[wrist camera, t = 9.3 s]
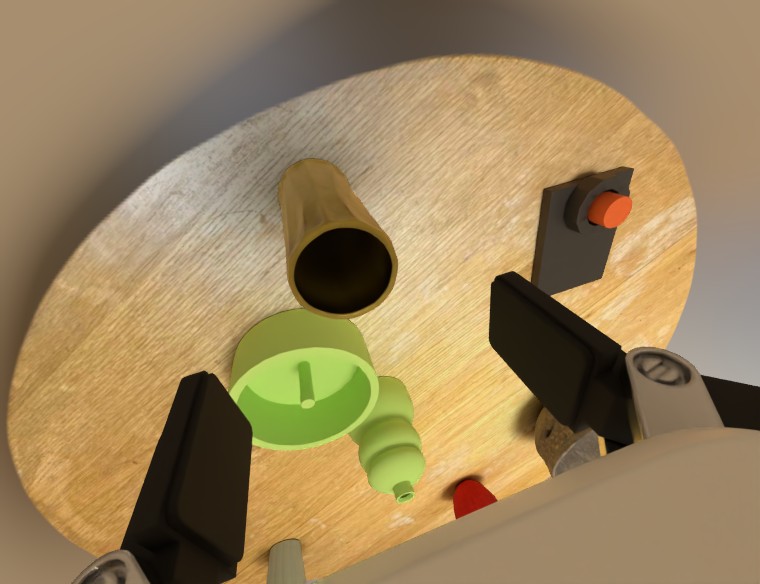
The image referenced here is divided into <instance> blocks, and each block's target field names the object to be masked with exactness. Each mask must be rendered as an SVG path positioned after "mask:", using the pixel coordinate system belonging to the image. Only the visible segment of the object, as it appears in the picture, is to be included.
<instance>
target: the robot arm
mask: <svg viewBox="0 0 760 584" xmlns="http://www.w3.org/2000/svg"><path fill="white" fill-rule="evenodd" d="M489 342H490V344H491V346H492V348H493V349H494V350H495V351H496V352H497V353H498V354H499V356H500V357H501V358H502V359H503V360H504V361H505V362H506V363H507V365H508V366H509V367H510V368H511V369H512V370H513V371H514V372H515V374H516V375H517V376H518V377H519V378H520V379H521V380H522V381H523V383H524V384H525V385H526V386H527V387H528V388H529V389H530V390H531V392H532V393H533V394H534V395H535V396H536V397H537V398H538V399H539V401H540V402H541V403H542V404H543V405H544V406H545V407H546V408H547V410H548V411H549V412H550V413H551V414H552V415H553V416H554V417H555V419H556V420H557V421H558V422H559V423H560V424H562V425H563V426H568V427H569V428H570V429H571V430H572V432H573V433H574V434H577V433H579V432H581V431H584V430H586V429H588V428H591V429H592V430H593V431H594V432H595V433H596V434H597V435H598V441H599V449H600V456H601V457H600V458H597V459H595V460H592V461H590V462H587V463H585V464H582V465H580V466H578V467H576V468H573V469H571V470H569V471H566V472H564V473H562V474H559V475H557V476H555V477H552V478H550V479H548V480H546V481H543V482H541V483H539V484H536V485H534V486H532V487H529V488H527V489H525V490H522V491H520V492H518V493H516V494H513V495H511V496H509V497H506V498H504V499H502V500H499V501H497V502H495V503H493V504H490V505H488V506H486V507H483V508H481V509H479V510H477V511H474V512H472V513H470V514H467V515H465V516H463V517H461V518H458V519H456V520H454V521H452V522H449V523H447V524H445V525H442V526H440V527H438V528H436V529H433V530H431V531H429V532H427V533H424V534H422V535H420V536H417V537H415V538H413V539H411V540H408V541H406V542H404V543H402V544H399V545H397V546H395V547H392V548H390V549H388V550H386V551H383V552H381V553H379V554H377V555H374V556H372V557H370V558H368V559H365V560H363V561H361V562H359V563H356V564H354V565H352V566H350V567H348V568H345V569H343V570H341V571H339V572H336V573H334V574H332V575H330V576H327V577H325V578H323V579H321V580H318V581H316V582H314V583H312V584H760V387H758V386H752V385H748V384H743V383H738V382H733V381H728V380H723V379H718V378H714V377H709V376H703V375H700V374H699V372H698V371H697V369H696V368H695V366H693V365H692V364H691V363H690V362H689V361H687V360H686V359H684V358H683V357H681V356H679V355H677V354H675V353H672V352H670V351H667V350H664V349H660V348H655V347H639V348H634V349H632V350H630V351H629V352H628V353H625V352H624V351H622V350H621V347H622V346H620V345H619V344H618V343H616V342H615V341H613V340H612V339H610V338H609V337H608V336H606V335H605V334H603V333H602V332H600V331H599V330H598V329H596V328H595V327H593V326H592V325H590V324H589V323H588V322H586V321H585V320H583V319H582V318H580V317H579V316H578V315H576V314H575V313H573V312H572V311H570V310H569V309H568V308H566V307H565V306H563V305H562V304H560V303H559V302H558V301H556V300H555V299H553V298H552V297H550V296H549V295H547V294H546V293H545V292H543V291H542V290H540V289H539V288H537V287H536V286H535V285H533V284H532V283H530V282H529V281H527V280H526V279H525V278H523V277H522V276H520V275H519V274H517V273H516V272H514V271H511V272H508V273H504V274H501V275H498V276H496V277H495V280H494V281H493V282H492V283H491V297H490V322H489ZM252 438H253V431H252V426H251V424H250V422H249V421H248V419H247V418H246V417H245V415H244V414H243V412H242V411H241V410H240V408H239V407H238V406H237V404H236V403H235V401H234V400H233V399H232V397H231V396H230V395H229V393H228V392H227V390H226V389H225V388H224V386H223V385H222V383H221V382H220V381H219V379H218V378H217V377H216V375H215V374H213V373H211V374H208V373H207V372H206V371H202V372H198V373H195V374H192V375H189V376H186V377H184V378H182V380H181V382H180V384H179V387H178V390H177V393H176V396H175V398H174V401H173V404H172V407H171V410H170V413H169V415H168V418H167V421H166V424H165V427H164V430H163V432H162V435H161V437H160V439H159V441H158V444H157V446H156V449H155V452H154V455H153V458H152V460H151V463H150V466H149V469H148V472H147V475H146V477H145V480H144V483H143V486H142V489H141V491H140V494H139V497H138V500H137V503H136V505H135V508H134V511H133V514H132V517H131V519H130V522H129V525H128V528H127V531H126V534H125V536H124V539H123V542H122V545H121V548H120V550H115V551H112V552H109V553H107V554H105V555H103V556H102V557H100V558H98V559H97V560H95V561H94V562H93V563H91V564H90V565H89V566H88V567H87V568H86V569H84V570H83V571H82V572H81V573H80V575H79V576H78V577H77V578H76V579H75V580H74V581H73V582H72V583H71V584H221V583H223V582H226V581H228V580H230V579H233V578H235V577H236V571H237V562H240V561H241V559H242V557H243V553H244V543H245V530H246V517H247V503H248V490H249V477H250V464H251V451H252Z"/></svg>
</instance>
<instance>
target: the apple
mask: <svg viewBox="0 0 760 584" xmlns="http://www.w3.org/2000/svg"><path fill="white" fill-rule="evenodd" d="M495 502H497V499H496V498H495V496H494V495H493V494H492V493H491V492H490V491H489V490H487V489H486V488H485V487H484V486H483V485H482V484H481V483H480V482H477V481H474V480H471V479H467V480H464V481H462V482H461V483H460V484H459V485H458V486H457V488H456V491H455V493H454V496H453V504H454V513H455V517H456V519H458V518H461V517H463V516H465V515H467V514H470V513H472V512H474V511H477V510H479V509H481V508H483V507H486V506H488V505H490V504H493V503H495Z"/></svg>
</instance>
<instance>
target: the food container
mask: <svg viewBox="0 0 760 584" xmlns="http://www.w3.org/2000/svg"><path fill="white" fill-rule="evenodd" d="M228 393H229V395H230V396H231V397H232V399H233V400H234V401H235V403H236V404H237V406H238V407H239V408H240V410H241V411H242V412H243V414H244V415H245V417H246V418H247V419H248V421H249V422H250V424H251V426H252V431H253V438H252V444H253V445H256V446H259V447H262V448H266V449H272V450H287V451H290V450H302V449H307V448H312V447H317V446H320V445H323V444H326V443H329V442H332V441H334V440H336V439H338V438H340V437H342V436H344V435H346V434H347V433H348V434H349V436H350V437H351V438H352V440H353V441H354V442H355V443H357V444H358V445H359V452H358V454H359V460H360V463H361V466H362V467H363V469H364V470H365V472H366V473H367V477H368V482H369V484H370V486H371V487H372V488H373V489H375V490H376V491H378V492H381V493H385V494H395V498H396V502H397V503H405V502H408V501H410V500H411V499H412V498H413V497H414V496H415V493H414V490H413V487H412V486H413V485H414V484H415V483H417V481H418V480H419V479H420V477H421V476H422V474H423V473H424V469H425V459H424V456H423V454H422V452H421V440H420V437H419V434H418V433H417V431H416V430H415V429H414V427H412V422H413V404H412V401H411V398H410V396H409V394H408V391H407V389H406V387H405V385H404V384H403V382H401V381H400V380H398V379H396V378H393V377H377V375H376V372H375V369H374V366H373V364H372V361H371V358H370V355H369V352H368V350H367V347H366V344H365V341H364V339H363V337H362V334H361V332H360V331H359V330H358V328H357V327H356V326H355V325H354V324H353V323H352V322H350V321H349V320H348V319H330V318H326V317H323V316H319V315H316V314H314V313H312V312H310V311H308V310H307V309H293V310H289V311H285V312H280V313H278V314H275V315H273V316H271V317H268V318H266V319H264V320H263V321H261V322H260V323H258V324H256V325H255V326H254V327H253V328H252V329H251V330H250V331H248V332H247V333H246V334H245V336H244V337H243V338H242V340H241V341H240V343H239V344H238V347H237V349H236V352H235V355H234V361H233V367H232V372H231V378H230V384H229V389H228Z"/></svg>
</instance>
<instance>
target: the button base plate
mask: <svg viewBox="0 0 760 584" xmlns="http://www.w3.org/2000/svg"><path fill="white" fill-rule="evenodd" d="M633 171H634V168H629V167H621V168H618V169H614V170H610V171H607V172H603V173H599V174H596V175H592V176H589V177H586V178H582V179H579V180H575V181H571V182H568V183H564V184H561V185H557V186H554V187H550V188H547V189H544V193H543V201H542V208H541V215H540V222H539V229H538V237H537V244H536V251H535V258H534V266H533V273H532V280H531V283H532V284H533V285H535V286H536V287H537V288H539V289H540V290H542V291H543V292H545V293H546V294H547V295H549V296H551V295H554V294H557V293H560V292H563V291H565V290H568V289H571V288H574V287H577V286H580V285H583V284H586V283H589V282H592V281H595V280H598V279H601V278H602V276H603V272H604V269H605V265H606V262H607V259H608V255H609V252H610V249H611V245H612V242H613V238H614V235H615V232H616V228H617V226H616V227H614V228H606V227H604V226H601V225H599V224H596V223H593V222H591V221H589V220H588V218H587V214H588V209H589V207H590V206H591V204H592V203H593V201H594V199H595V198H596V197H597V196H599V195H600V194H601V193H603V192H607V191H608V192H613V193H616V194H620V195H624V196H627V197H629V195H630V191H629V184H630V181H631V178H632V174H633Z"/></svg>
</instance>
